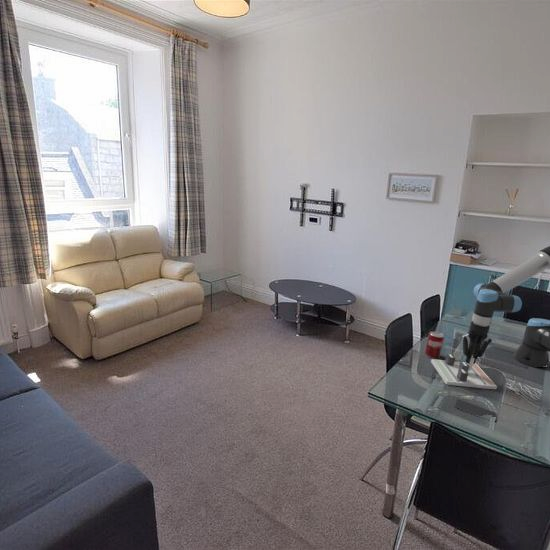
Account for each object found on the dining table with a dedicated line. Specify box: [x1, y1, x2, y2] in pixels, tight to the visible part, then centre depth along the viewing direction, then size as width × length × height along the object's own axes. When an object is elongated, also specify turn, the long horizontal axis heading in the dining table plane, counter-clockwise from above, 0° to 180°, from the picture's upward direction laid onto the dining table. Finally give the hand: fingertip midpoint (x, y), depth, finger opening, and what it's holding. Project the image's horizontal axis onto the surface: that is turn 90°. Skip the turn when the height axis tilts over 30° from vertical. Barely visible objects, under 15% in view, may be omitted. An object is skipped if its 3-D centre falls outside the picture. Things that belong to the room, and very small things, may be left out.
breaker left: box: [445, 353, 456, 365], centre depth 180 cm, size 3×3×4 cm
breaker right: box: [457, 369, 468, 381], centre depth 167 cm, size 3×3×4 cm
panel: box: [430, 358, 498, 390], centre depth 174 cm, size 22×20×2 cm
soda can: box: [424, 331, 445, 360], centre depth 189 cm, size 7×7×12 cm
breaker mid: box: [458, 361, 469, 373], centre depth 174 cm, size 3×3×4 cm
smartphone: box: [453, 398, 497, 418], centre depth 148 cm, size 7×1×15 cm
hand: (468, 369), depth 174 cm, fingers closed
